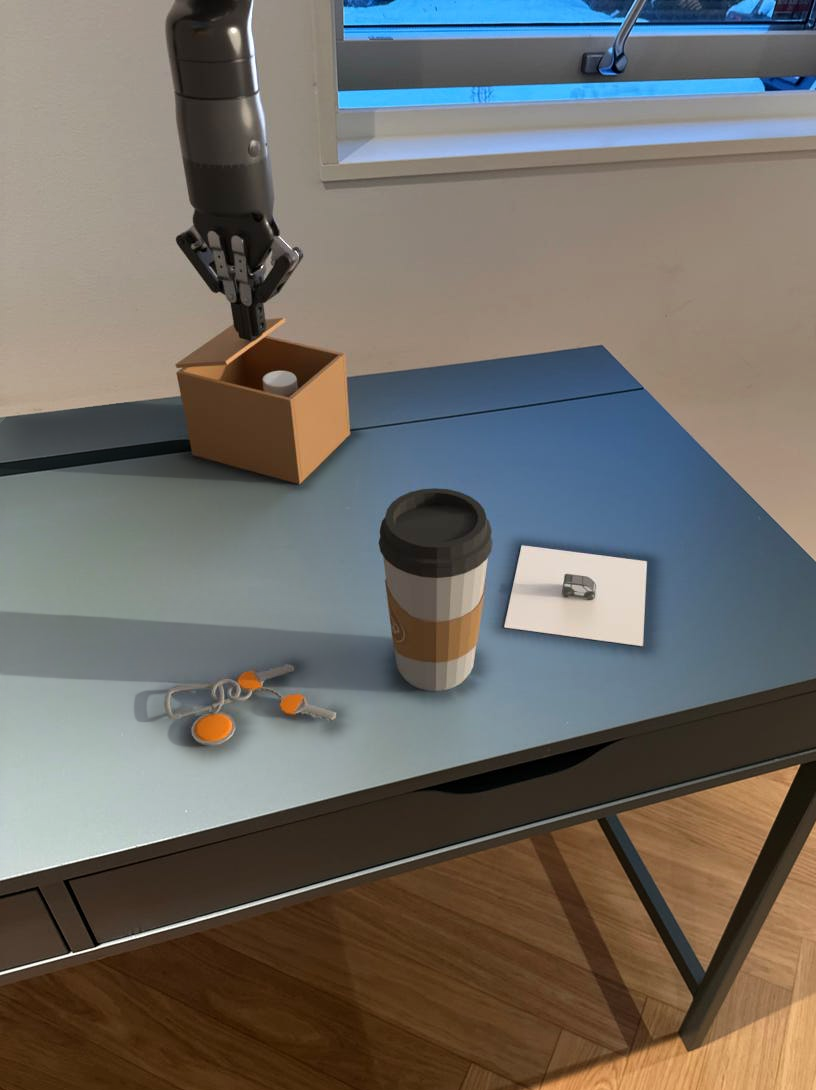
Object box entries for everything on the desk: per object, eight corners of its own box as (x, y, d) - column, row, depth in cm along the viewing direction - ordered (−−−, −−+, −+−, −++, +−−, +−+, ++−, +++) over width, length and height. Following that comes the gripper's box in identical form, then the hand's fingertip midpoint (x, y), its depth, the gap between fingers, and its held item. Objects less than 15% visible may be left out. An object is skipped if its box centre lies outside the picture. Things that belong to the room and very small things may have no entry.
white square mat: (642, 646, 80) (645, 633, 79) (504, 627, 81) (505, 614, 80) (646, 561, 89) (649, 548, 88) (521, 545, 90) (522, 532, 89)
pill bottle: (307, 455, 99) (300, 388, 94) (264, 455, 99) (255, 388, 93) (308, 433, 102) (302, 367, 97) (268, 434, 102) (259, 368, 97)
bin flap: (176, 368, 92) (174, 364, 92) (237, 325, 100) (236, 321, 100) (227, 365, 90) (225, 361, 90) (286, 321, 97) (284, 317, 97)
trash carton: (192, 455, 99) (175, 372, 93) (249, 408, 107) (237, 328, 100) (299, 484, 96) (290, 400, 90) (350, 434, 104) (345, 353, 97)
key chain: (166, 753, 69) (164, 746, 69) (164, 684, 74) (162, 677, 74) (338, 725, 72) (337, 718, 71) (325, 660, 77) (324, 653, 76)
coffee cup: (374, 642, 79) (365, 493, 69) (468, 624, 81) (473, 477, 71) (398, 712, 73) (393, 561, 63) (499, 690, 75) (510, 541, 65)
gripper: (313, 148, 83) (328, 335, 94) (186, 127, 86) (216, 310, 98) (268, 171, 77) (289, 366, 89) (135, 148, 81) (173, 338, 93)
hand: (251, 336), depth 93 cm, fingers closed
